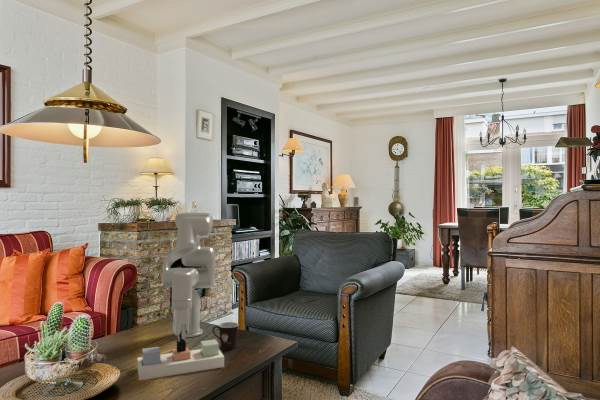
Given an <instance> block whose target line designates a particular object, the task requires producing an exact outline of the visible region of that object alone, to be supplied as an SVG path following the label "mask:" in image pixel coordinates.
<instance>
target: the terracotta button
mask: <svg viewBox="0 0 600 400" xmlns="http://www.w3.org/2000/svg"><path fill="white" fill-rule="evenodd" d="M171 353H172V359H173V361H180V360H187V359H190V349H189V347H187V346H186V351H182V352H177V348H173V349H171Z"/></svg>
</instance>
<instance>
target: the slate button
mask: <svg viewBox="0 0 600 400" xmlns="http://www.w3.org/2000/svg"><path fill="white" fill-rule="evenodd" d="M141 354H142V355H141V357H142V364H143V366H146V365H153V364H159V363H160V355H161V349H160V346H153V347H147V348H146V347H145V348H142V349H141Z"/></svg>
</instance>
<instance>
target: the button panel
mask: <svg viewBox="0 0 600 400" xmlns="http://www.w3.org/2000/svg"><path fill="white" fill-rule="evenodd" d="M189 350H190V349H189ZM136 361H137V362H136V363H137V364H136V365H137V366H136V368H137V376H138V380H139V381H145V380H150V379H155V378H164V377H168V376H169V377H171V376H176V375H182V374H189V373H195V372H201V371H207V370H213V369H219V368H225V355H224V354H223V352H222V350H221V349H219V355H215V356H208V357H202V355H201V348H198V349H192V350H190V359H187V360H180V361H173V359H172V352H169V353H164V354H163V353H160V363H159V364H153V365H146V366H143V364H142V356H140V357H137V358H136Z"/></svg>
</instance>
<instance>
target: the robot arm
mask: <svg viewBox="0 0 600 400" xmlns="http://www.w3.org/2000/svg"><path fill="white" fill-rule="evenodd" d="M174 222H175V226H176V228H177V234H176V243H175V244H176V245H175V247H174V248H172V249H171V250H170V251H169V253H167V255H166V256H165V258H164V260H163V264H162V272H161V283H162V285H163V286H164V287H166V288H171V309H173V317H172V331H173V333H174V335H175V336H176V339H177V340H176V349H177V352H182V351H186V347H187V338H193V337H198V336H201V335H202V334H203V333H204V331H203V329H202V328H200V323H201V322H200V321H201V320H200V319H201V317H200V315H201V313H200V312H201V310H200V309H201V297H200V295H199V293H198V291H197V290H196V289H210V288H213V287H214V286H215V282H216V253H215V252H216V251H215V250H214V248H213V247H212V246H201V245H200V241H201V240H200V238H201V237H200V236H209V235H210V234H211V233H212V232H213V231H212V230H213V225H214V218H213V215H212V214H211V213H210V212H209V213H208V212H182V213H177V214H176V215H175V217H174ZM179 259H180V260H181V264H183V266H185V267H172V265H173V264H174V263H175V262H176V261H178V260H179ZM171 267H172V268H171ZM194 267H203V268H194ZM204 267H205V268H204Z"/></svg>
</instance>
